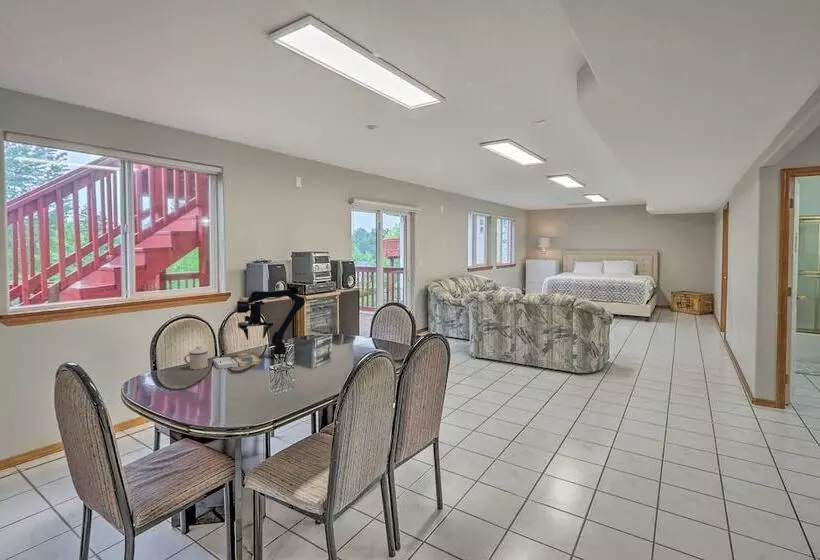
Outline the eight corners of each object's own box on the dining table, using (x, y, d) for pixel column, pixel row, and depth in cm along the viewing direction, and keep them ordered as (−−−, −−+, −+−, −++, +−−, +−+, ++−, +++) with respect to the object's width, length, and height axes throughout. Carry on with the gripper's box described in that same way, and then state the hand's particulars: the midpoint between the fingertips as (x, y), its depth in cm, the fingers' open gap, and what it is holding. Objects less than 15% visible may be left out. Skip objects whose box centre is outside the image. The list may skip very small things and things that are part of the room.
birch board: (254, 357, 256) (254, 354, 256) (261, 363, 243) (261, 360, 243) (232, 360, 250) (232, 357, 250) (239, 366, 236) (239, 363, 236)
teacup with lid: (210, 365, 239) (210, 344, 238) (204, 370, 230) (203, 348, 229) (188, 365, 238) (187, 344, 237) (180, 370, 228) (180, 348, 228)
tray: (232, 360, 249) (231, 356, 249) (238, 366, 236) (238, 362, 236) (213, 363, 244) (213, 358, 244) (218, 369, 231) (218, 364, 230)
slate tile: (250, 358, 246) (250, 355, 246) (252, 360, 242) (252, 357, 242) (241, 359, 243) (241, 356, 243) (243, 361, 239) (243, 358, 239)
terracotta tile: (247, 356, 252) (247, 352, 252) (249, 357, 248) (249, 354, 248) (238, 357, 249) (238, 353, 249) (240, 359, 245) (240, 355, 245)
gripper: (267, 309, 263) (267, 335, 264) (235, 311, 252) (235, 338, 253) (273, 312, 254) (273, 338, 255) (240, 314, 243) (240, 341, 244)
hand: (255, 339), depth 252 cm, fingers open, 9 cm apart
